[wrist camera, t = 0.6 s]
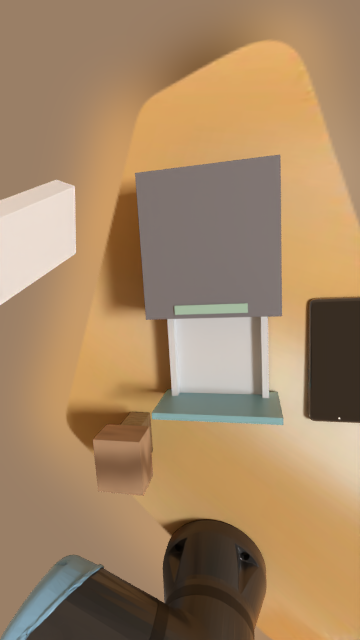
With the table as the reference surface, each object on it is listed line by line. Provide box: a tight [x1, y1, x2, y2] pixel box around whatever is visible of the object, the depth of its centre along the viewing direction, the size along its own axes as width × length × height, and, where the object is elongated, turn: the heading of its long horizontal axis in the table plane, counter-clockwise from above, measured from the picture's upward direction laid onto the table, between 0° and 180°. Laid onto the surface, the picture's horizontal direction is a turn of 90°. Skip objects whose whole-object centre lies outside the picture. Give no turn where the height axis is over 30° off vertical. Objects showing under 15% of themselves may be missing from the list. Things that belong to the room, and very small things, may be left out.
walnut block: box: [93, 424, 153, 496], centre depth 42 cm, size 7×6×4 cm
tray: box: [152, 317, 283, 425], centre depth 40 cm, size 16×15×8 cm
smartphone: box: [308, 297, 360, 423], centre depth 41 cm, size 7×1×16 cm
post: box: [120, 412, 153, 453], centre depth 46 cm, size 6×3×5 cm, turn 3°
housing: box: [135, 155, 282, 320], centre depth 38 cm, size 16×15×8 cm
